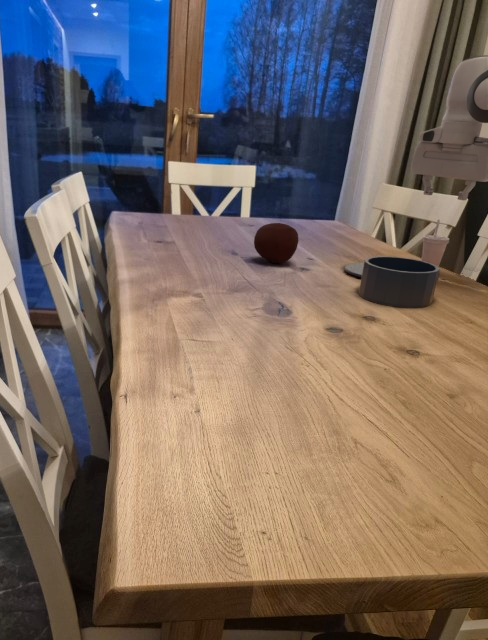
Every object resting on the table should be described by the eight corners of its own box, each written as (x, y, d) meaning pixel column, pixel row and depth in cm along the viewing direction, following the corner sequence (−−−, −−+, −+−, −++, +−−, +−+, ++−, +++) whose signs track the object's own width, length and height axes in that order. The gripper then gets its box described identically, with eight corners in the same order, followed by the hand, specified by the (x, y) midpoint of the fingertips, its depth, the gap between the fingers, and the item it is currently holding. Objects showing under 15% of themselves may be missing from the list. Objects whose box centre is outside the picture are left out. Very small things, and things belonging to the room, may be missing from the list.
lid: (424, 279, 146) (428, 260, 144) (382, 286, 137) (386, 266, 135) (372, 264, 158) (375, 247, 156) (330, 270, 149) (333, 252, 147)
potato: (272, 255, 163) (276, 217, 159) (305, 265, 153) (310, 225, 149) (242, 258, 157) (245, 219, 153) (274, 269, 148) (279, 228, 143)
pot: (446, 302, 127) (454, 268, 124) (401, 311, 119) (409, 276, 116) (388, 285, 139) (394, 253, 135) (344, 292, 130) (349, 259, 127)
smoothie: (409, 272, 152) (421, 217, 146) (429, 271, 154) (442, 217, 148) (425, 278, 147) (438, 222, 141) (446, 277, 149) (459, 222, 142)
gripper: (508, 138, 130) (491, 202, 136) (429, 134, 145) (417, 192, 151) (493, 138, 126) (476, 203, 133) (414, 133, 141) (402, 192, 147)
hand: (444, 197), depth 142 cm, fingers open, 8 cm apart
